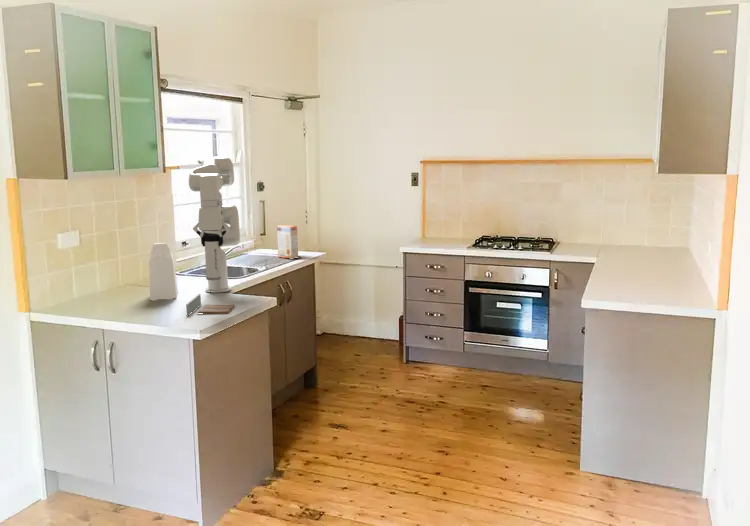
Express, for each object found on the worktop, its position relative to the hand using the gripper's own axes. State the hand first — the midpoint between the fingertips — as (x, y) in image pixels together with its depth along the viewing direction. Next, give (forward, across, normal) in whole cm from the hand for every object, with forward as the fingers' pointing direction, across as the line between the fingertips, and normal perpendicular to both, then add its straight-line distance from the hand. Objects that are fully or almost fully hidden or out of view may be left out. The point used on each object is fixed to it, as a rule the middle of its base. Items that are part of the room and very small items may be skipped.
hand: (212, 245), depth 288 cm
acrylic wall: (+29, +10, -1) cm, 30 cm away
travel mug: (+15, 0, 0) cm, 15 cm away
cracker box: (+29, -13, -138) cm, 141 cm away
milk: (+29, +32, -29) cm, 52 cm away
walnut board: (+29, 0, 0) cm, 29 cm away
